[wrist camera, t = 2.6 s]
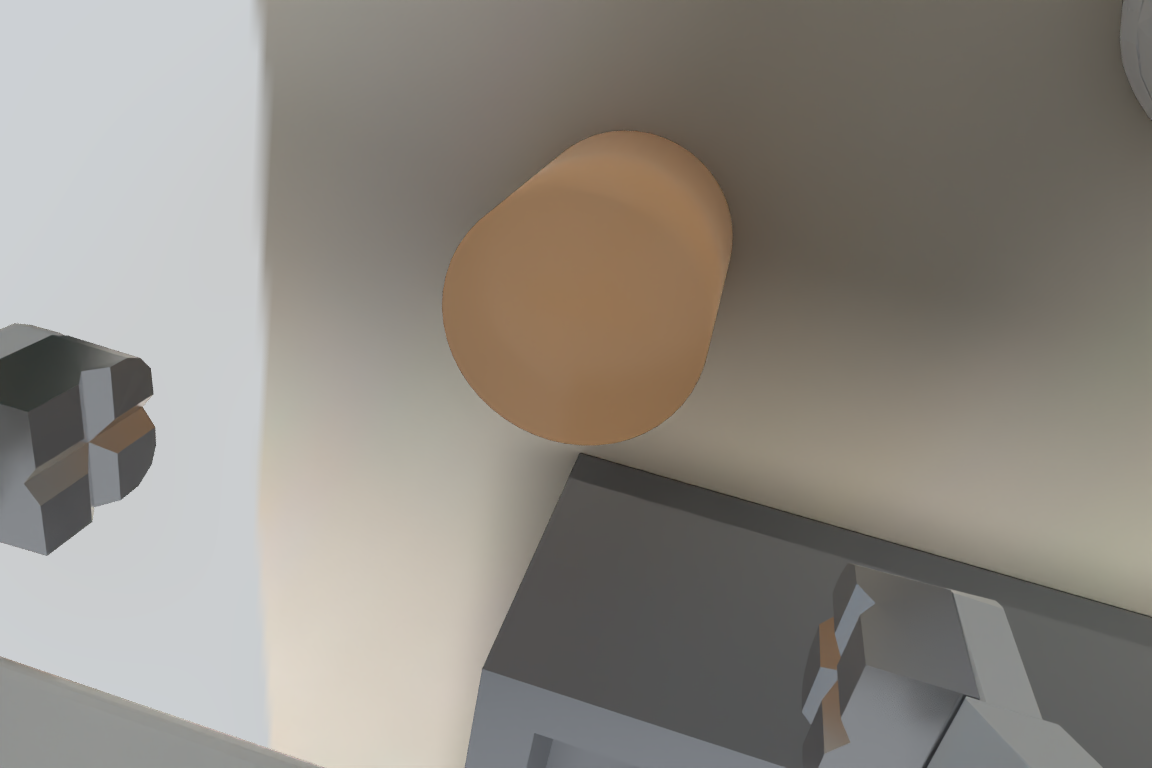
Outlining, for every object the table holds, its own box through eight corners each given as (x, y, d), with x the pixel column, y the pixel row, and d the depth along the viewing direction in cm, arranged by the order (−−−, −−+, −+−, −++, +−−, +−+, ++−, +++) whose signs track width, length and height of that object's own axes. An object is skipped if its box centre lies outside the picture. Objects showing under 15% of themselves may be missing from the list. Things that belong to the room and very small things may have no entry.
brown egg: (544, 108, 16) (458, 158, 12) (759, 159, 15) (743, 229, 11) (513, 305, 17) (430, 405, 14) (702, 356, 17) (672, 475, 13)
